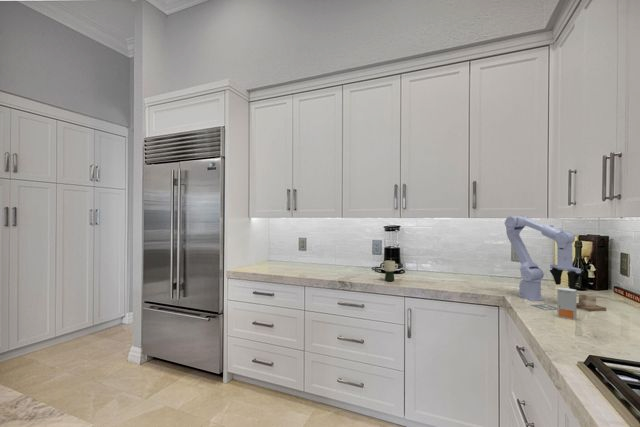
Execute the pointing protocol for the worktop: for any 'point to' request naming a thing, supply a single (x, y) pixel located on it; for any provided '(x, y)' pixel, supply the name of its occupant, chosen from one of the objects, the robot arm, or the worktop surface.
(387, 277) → the character mug
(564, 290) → the skincare box
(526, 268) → the robot arm
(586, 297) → the birch block
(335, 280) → the worktop surface
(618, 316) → the worktop surface
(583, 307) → the walnut board
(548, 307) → the slate tile
